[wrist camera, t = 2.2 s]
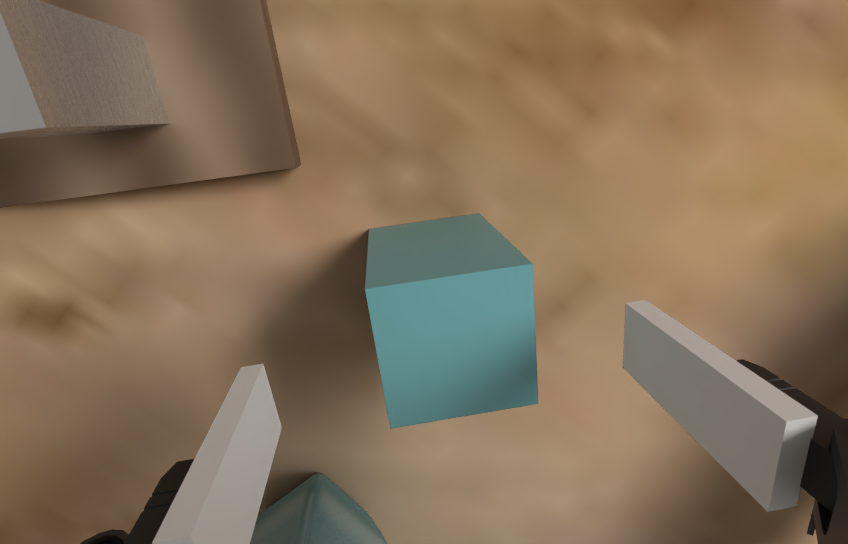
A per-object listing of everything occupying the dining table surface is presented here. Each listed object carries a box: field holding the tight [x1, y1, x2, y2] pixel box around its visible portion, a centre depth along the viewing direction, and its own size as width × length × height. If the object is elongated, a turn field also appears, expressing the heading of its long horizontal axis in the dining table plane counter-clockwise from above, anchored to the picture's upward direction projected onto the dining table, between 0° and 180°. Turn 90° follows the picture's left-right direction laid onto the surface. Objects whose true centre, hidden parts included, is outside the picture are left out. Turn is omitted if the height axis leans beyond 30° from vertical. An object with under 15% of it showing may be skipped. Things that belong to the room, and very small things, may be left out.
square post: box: [0, 0, 169, 139], centre depth 16 cm, size 4×4×10 cm
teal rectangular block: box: [365, 213, 538, 429], centre depth 21 cm, size 6×6×9 cm
